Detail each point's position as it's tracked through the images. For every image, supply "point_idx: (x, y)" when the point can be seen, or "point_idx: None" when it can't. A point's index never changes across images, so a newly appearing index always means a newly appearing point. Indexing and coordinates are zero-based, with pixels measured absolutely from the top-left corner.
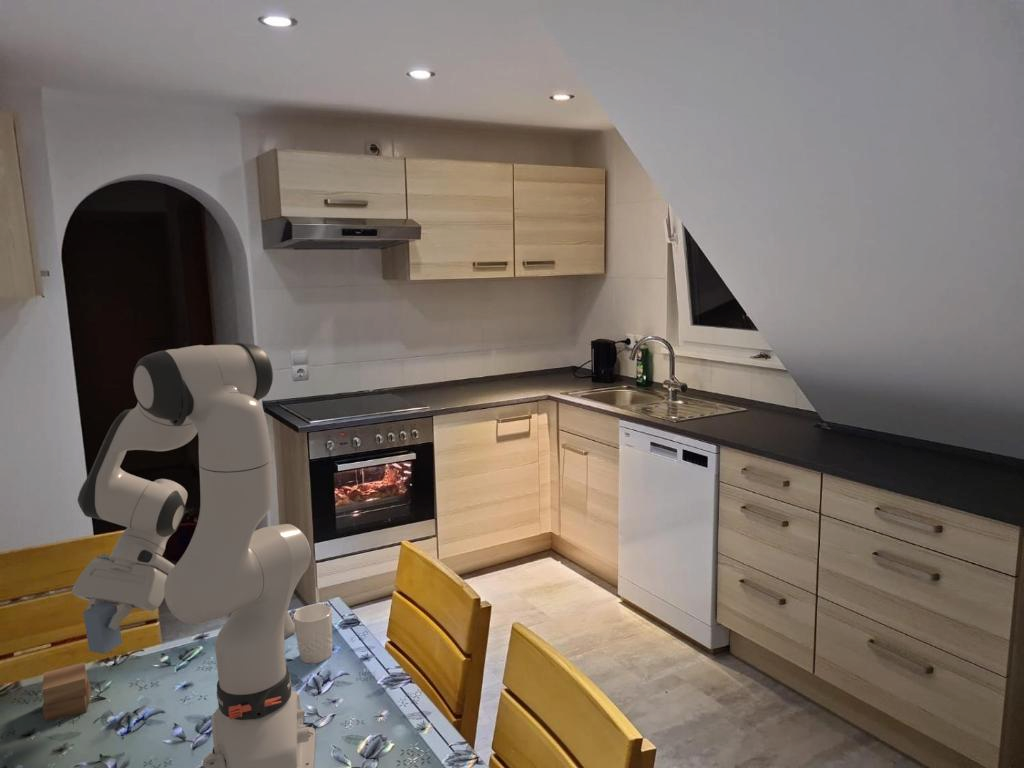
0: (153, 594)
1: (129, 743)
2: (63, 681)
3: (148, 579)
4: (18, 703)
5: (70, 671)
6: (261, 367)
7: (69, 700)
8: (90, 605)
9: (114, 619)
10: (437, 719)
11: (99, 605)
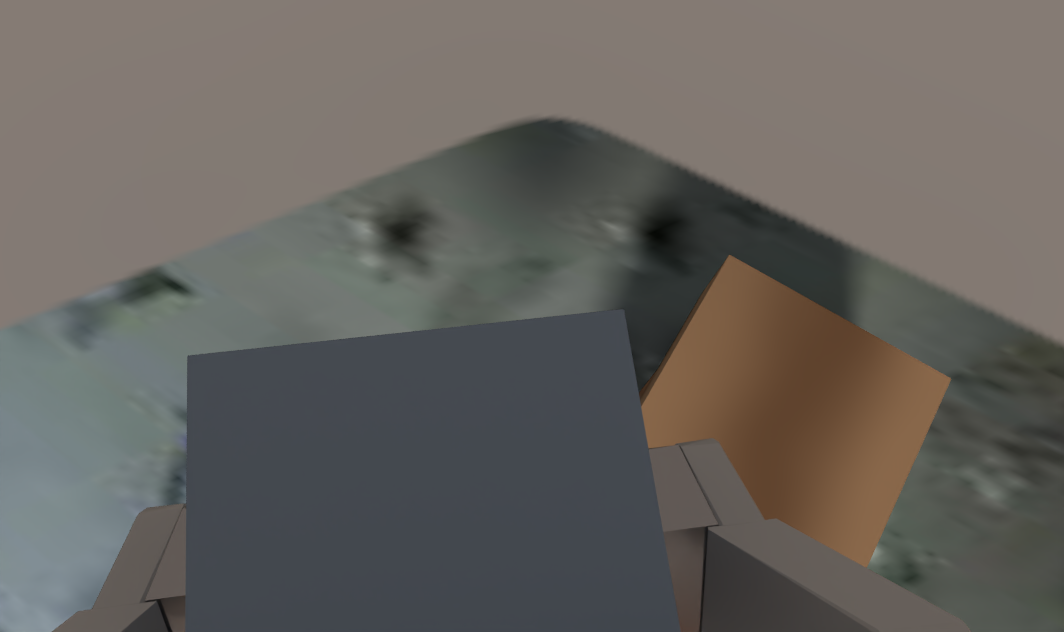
0: None
1: (113, 400)
2: (708, 370)
3: None
4: (992, 354)
5: (802, 471)
6: None
7: (639, 394)
8: (863, 614)
9: (104, 606)
10: None
11: None
